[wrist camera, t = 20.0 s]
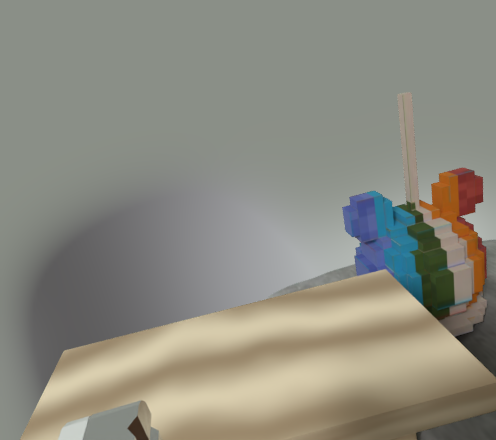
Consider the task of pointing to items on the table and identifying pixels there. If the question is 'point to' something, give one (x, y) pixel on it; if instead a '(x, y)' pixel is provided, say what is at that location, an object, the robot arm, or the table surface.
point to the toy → (425, 238)
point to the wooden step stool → (281, 371)
